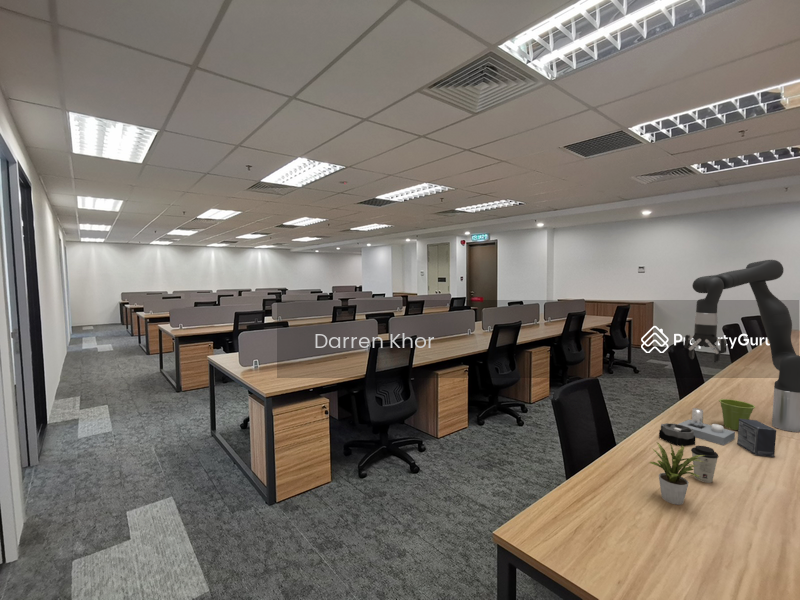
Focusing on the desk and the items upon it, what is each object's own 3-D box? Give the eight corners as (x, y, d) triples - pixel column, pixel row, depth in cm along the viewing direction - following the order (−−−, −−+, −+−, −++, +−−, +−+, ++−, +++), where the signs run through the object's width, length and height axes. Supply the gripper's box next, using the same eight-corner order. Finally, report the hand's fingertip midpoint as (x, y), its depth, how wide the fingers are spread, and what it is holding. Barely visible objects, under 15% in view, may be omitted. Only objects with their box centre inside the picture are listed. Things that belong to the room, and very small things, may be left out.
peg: (692, 430, 163) (694, 407, 162) (703, 433, 160) (704, 410, 159) (689, 432, 160) (691, 409, 160) (700, 435, 158) (701, 411, 157)
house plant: (710, 524, 99) (713, 463, 98) (647, 506, 106) (649, 450, 106) (701, 497, 111) (704, 443, 110) (646, 484, 118) (648, 433, 118)
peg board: (688, 426, 168) (689, 414, 167) (734, 438, 154) (735, 425, 154) (676, 431, 161) (677, 419, 161) (723, 445, 148) (724, 432, 147)
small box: (776, 458, 138) (778, 429, 137) (755, 456, 139) (757, 428, 138) (755, 445, 148) (757, 419, 147) (736, 444, 149) (737, 418, 149)
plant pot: (751, 436, 157) (753, 409, 157) (715, 427, 166) (716, 402, 166) (755, 429, 165) (756, 403, 164) (720, 421, 174) (721, 397, 173)
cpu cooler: (700, 431, 148) (679, 433, 145) (699, 445, 148) (679, 448, 145) (674, 421, 158) (655, 423, 155) (674, 435, 158) (655, 437, 155)
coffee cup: (710, 486, 117) (712, 455, 117) (685, 476, 123) (686, 446, 123) (721, 481, 121) (723, 451, 120) (696, 471, 127) (697, 442, 126)
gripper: (682, 322, 166) (680, 358, 167) (723, 325, 154) (721, 364, 155) (689, 321, 170) (688, 356, 171) (730, 324, 158) (727, 362, 159)
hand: (703, 360), depth 163 cm, fingers open, 8 cm apart
